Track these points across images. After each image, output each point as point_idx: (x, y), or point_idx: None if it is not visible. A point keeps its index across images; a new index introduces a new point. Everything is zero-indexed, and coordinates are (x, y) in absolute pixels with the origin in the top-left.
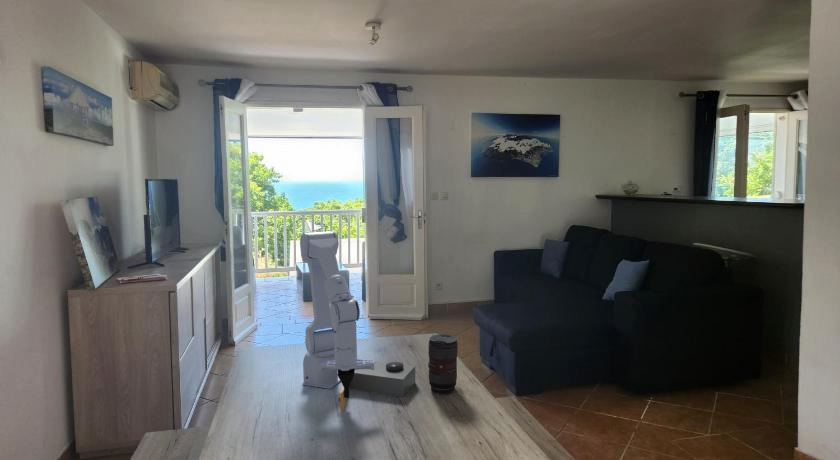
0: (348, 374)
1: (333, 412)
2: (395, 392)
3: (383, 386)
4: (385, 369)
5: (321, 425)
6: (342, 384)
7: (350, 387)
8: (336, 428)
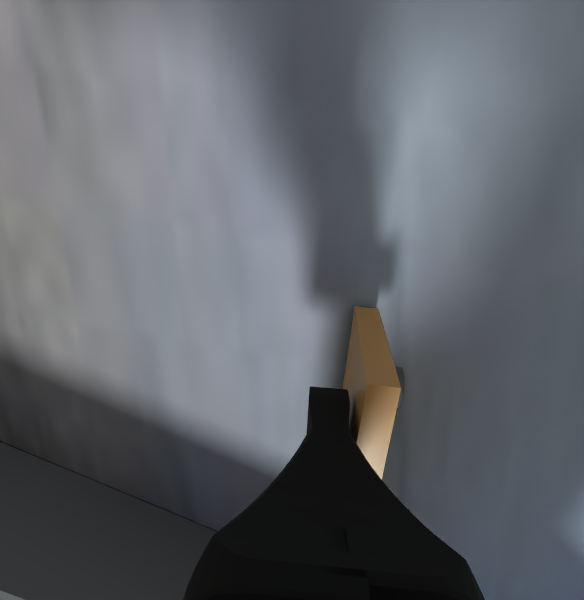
0: (282, 588)
1: (429, 308)
2: (15, 471)
3: (78, 529)
4: None
5: (550, 98)
6: None
7: None
8: (425, 20)
